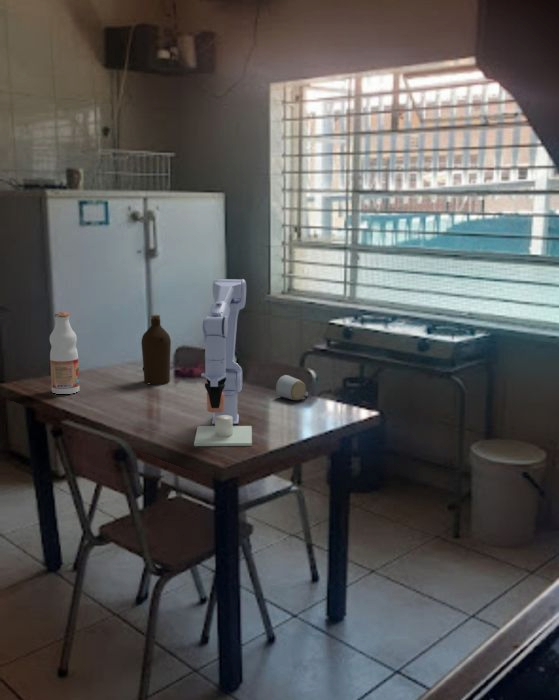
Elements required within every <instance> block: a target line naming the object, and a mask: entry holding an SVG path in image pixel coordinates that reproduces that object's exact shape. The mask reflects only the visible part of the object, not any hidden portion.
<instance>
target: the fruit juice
mask: <svg viewBox="0 0 559 700" xmlns="http://www.w3.org/2000/svg"><path fill="white" fill-rule="evenodd" d="M70 315H71V314H70V312H65V311H64V312H62V311H61V312H55V314H54V318H55V324H54V328H53V329H52V332H51V333H50V335H49V343H50V346H51V348H50V351H49V361H50V362H49V363H50V377H51V378H50V380H51V392H52V394H53V393H56V394H71V393H75V394H77V393H76V392H78V391H79V392H80V372H79V371H80V368H79V365H80V364H79V352H78V351H79V350H78V349H77V343H78V337H77V334H76V332H75V331H74V330H73V329H72V325H71V323H70V320H69V319H70V317H71V316H70ZM79 392H78V393H79ZM56 394H55V395H56ZM71 395H72V394H71Z"/></svg>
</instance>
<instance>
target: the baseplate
mask: <svg viewBox="0 0 559 700" xmlns="http://www.w3.org/2000/svg"><path fill="white" fill-rule="evenodd" d="M252 427H253V426H252V425H233V435H232V436H229V437H218V436H216V435H215V425H197V429H196V432H195V437H194V442H193V446H194V447H252V446H253V435H252V434H253V433H252V432H253V431H252V430H253V428H252Z"/></svg>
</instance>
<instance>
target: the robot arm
mask: <svg viewBox="0 0 559 700" xmlns="http://www.w3.org/2000/svg"><path fill="white" fill-rule="evenodd" d="M212 296H213V301H214V302H213V303H212V304H211V306H210V310H209V312H208V314H207V316H206V317H203V319H202V325H201V326H202V327H201V328H202V333H203V334H202V335H203V344H204V348H205V349H204V351H205V352H204V362H205V366H204V367H205V368H204V371H205V372H202V373H200V374H201V375H200V377H202V378H205V379H206V380H205V381H206V382H205V383H204V388H205V390H206V393H207V392H208V395H209V399H210V404H211V408H219V406H220V400H221V394H222V392H224V404H225V410H224V411H223V412H216V413H215V412H213V413H212V415H213V416H212V422H211V423H212V425H215V417H216V416H220V415H229V416H232V417H233V425H238V424H239V423H240V422H239V420H240V419H239V418H240V414H239V413H238V394H239V393H240V392H241V391H242V388H243V368H242V367H241V366H240V365H239V363H237V362H235V356H236V355H235V353H236V341H237V328H238V325H237V324H238V318H239V313H240V310H243V309H244V308H245V306H246V304H247V303H246V300H247V282H246V280H245V279H244V278H241V279H236V278H235V279H231V278H230V279H229V278H227V279H226V278H224V279H223V278H214V280H213V282H212Z"/></svg>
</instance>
